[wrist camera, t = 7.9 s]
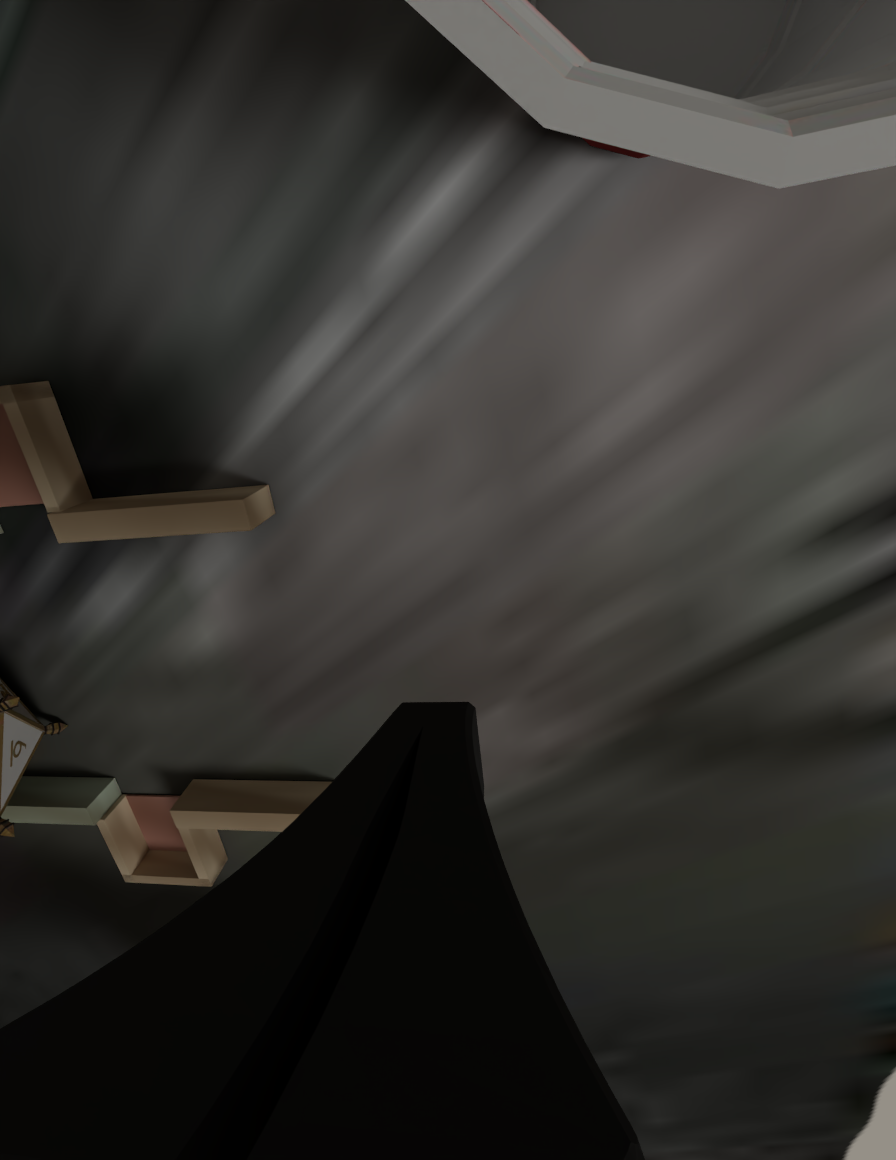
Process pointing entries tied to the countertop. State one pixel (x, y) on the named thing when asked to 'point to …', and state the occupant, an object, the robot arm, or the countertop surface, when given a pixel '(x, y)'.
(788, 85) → the plastic cup
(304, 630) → the countertop surface
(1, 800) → the game die
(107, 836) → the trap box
